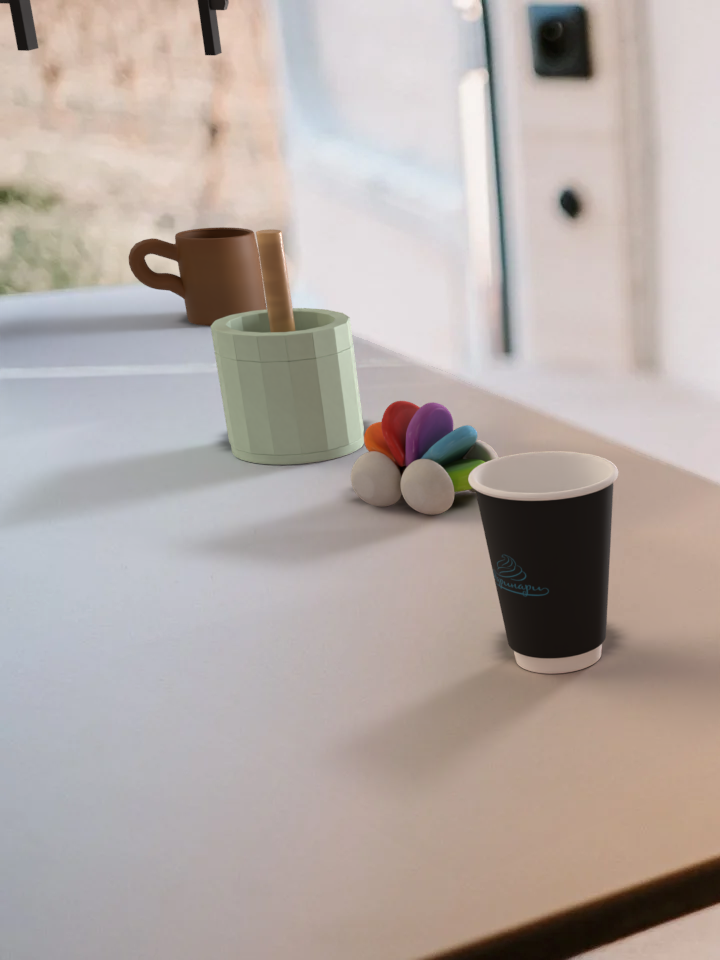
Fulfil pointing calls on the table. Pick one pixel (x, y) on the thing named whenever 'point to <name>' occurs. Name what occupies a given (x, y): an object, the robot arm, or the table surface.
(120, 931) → the table surface
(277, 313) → the brush
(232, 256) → the mug
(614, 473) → the dixie cup
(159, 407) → the table surface
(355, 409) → the jar
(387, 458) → the rainbow petal wheeled toy
